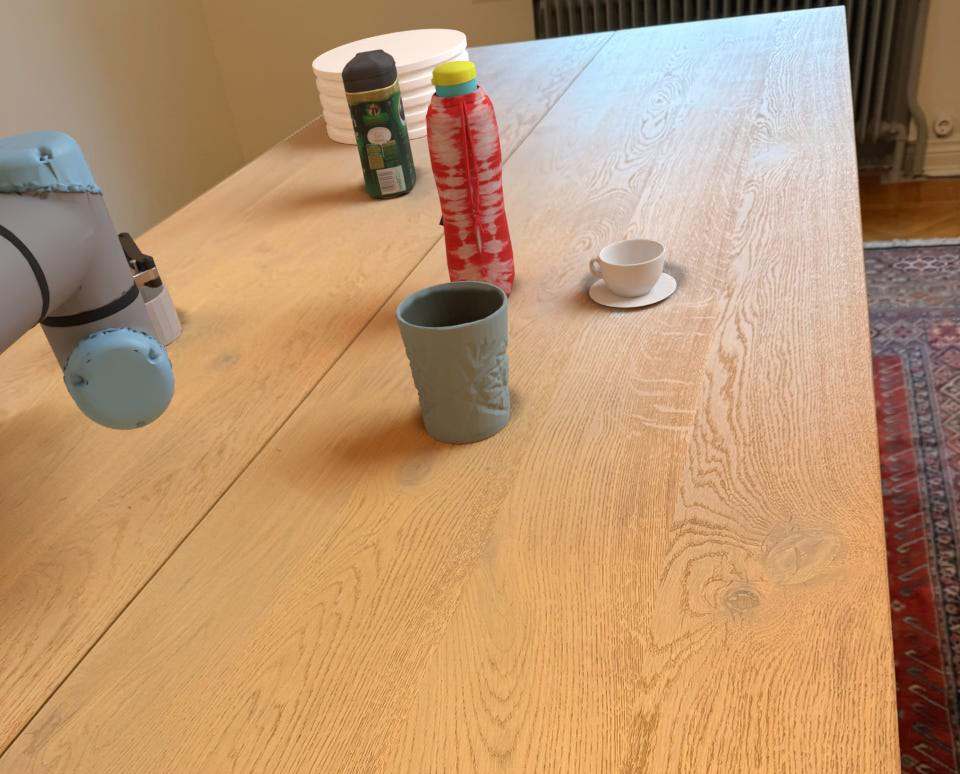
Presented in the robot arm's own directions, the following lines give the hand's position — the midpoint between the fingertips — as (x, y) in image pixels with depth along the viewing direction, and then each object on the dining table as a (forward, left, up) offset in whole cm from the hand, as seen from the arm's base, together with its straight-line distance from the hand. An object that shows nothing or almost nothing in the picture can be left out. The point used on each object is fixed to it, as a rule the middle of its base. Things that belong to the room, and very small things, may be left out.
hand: (64, 240), depth 95 cm
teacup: (+31, +50, -18) cm, 61 cm away
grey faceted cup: (-13, +8, -18) cm, 24 cm away
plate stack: (-58, +83, -18) cm, 103 cm away
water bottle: (+16, +40, -18) cm, 47 cm away
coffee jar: (-27, +58, -18) cm, 67 cm away
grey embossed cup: (+37, +20, -18) cm, 45 cm away
